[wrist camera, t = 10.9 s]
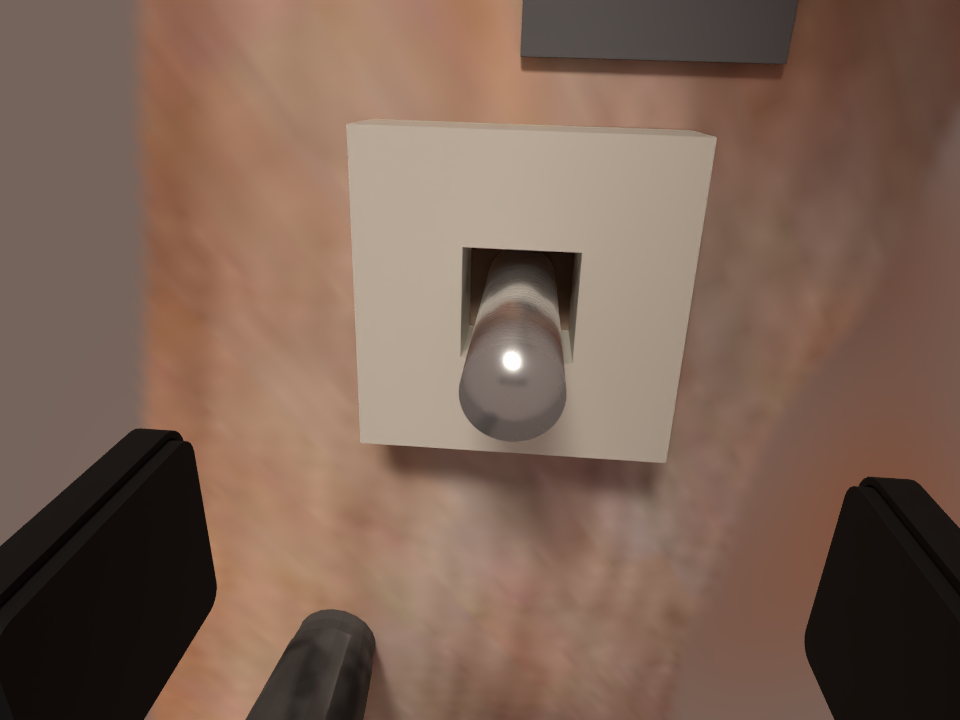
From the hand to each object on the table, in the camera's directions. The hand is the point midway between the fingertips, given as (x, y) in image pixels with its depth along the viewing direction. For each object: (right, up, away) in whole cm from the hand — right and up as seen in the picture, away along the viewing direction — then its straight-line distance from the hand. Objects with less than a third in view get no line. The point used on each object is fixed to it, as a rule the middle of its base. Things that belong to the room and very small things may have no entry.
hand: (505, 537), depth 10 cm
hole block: (+1, +6, +20) cm, 21 cm away
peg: (+1, +6, +20) cm, 21 cm away
